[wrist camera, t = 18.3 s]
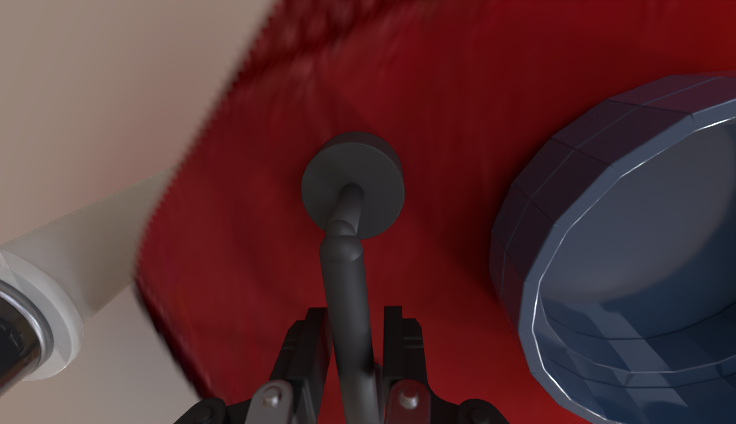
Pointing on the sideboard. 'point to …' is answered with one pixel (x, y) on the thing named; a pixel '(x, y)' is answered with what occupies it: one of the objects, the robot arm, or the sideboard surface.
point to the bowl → (629, 256)
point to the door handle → (353, 253)
